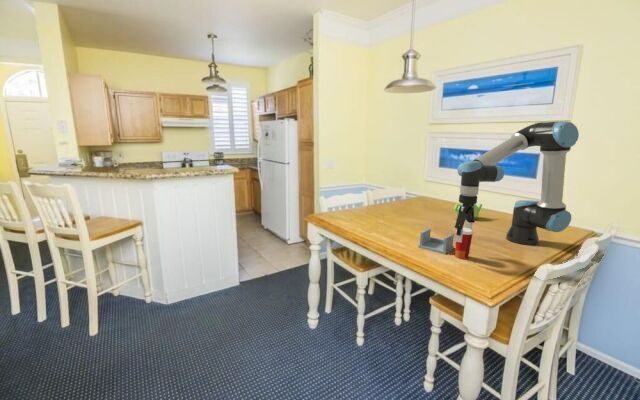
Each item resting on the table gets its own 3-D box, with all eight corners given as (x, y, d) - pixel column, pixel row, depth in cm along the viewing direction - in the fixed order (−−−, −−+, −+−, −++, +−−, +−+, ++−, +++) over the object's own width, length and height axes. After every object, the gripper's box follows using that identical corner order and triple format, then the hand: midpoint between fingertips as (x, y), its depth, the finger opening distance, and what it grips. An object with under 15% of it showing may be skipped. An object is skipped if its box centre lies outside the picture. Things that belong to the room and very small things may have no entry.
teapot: (475, 215, 222) (477, 199, 220) (486, 220, 209) (488, 203, 207) (449, 215, 221) (450, 199, 219) (458, 220, 208) (460, 203, 206)
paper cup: (465, 253, 148) (468, 226, 145) (473, 260, 141) (477, 231, 138) (449, 254, 148) (452, 226, 145) (457, 260, 140) (460, 231, 138)
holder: (453, 247, 156) (455, 233, 155) (445, 254, 147) (446, 238, 146) (427, 241, 165) (428, 227, 164) (418, 247, 157) (419, 232, 155)
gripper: (468, 190, 150) (463, 231, 154) (450, 197, 131) (445, 242, 136) (484, 192, 145) (479, 234, 149) (468, 199, 126) (462, 246, 131)
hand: (463, 238), depth 142 cm, fingers open, 13 cm apart
